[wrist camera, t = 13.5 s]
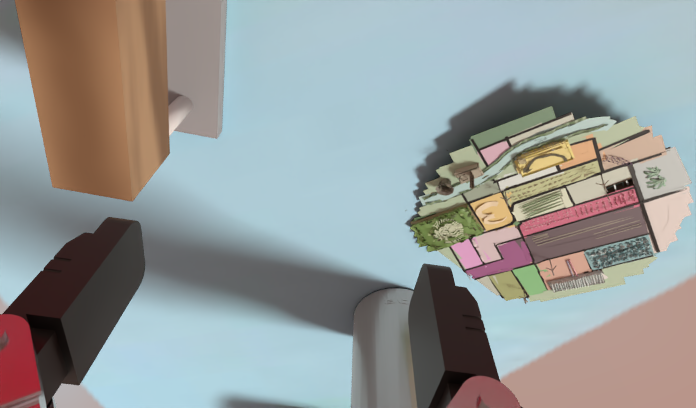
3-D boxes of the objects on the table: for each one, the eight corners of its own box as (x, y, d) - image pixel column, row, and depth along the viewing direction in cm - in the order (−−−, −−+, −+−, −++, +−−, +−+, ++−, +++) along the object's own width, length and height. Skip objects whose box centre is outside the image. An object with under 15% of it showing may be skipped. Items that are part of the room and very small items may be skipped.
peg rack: (222, 131, 38) (194, 175, 32) (126, 113, 38) (79, 154, 31) (230, -89, 29) (194, -86, 23) (105, -117, 29) (33, -123, 23)
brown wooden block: (163, -59, 24) (111, -49, 19) (169, 153, 31) (132, 201, 26) (77, -79, 24) (-1, -73, 19) (103, 141, 31) (52, 187, 26)
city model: (353, 208, 45) (348, 252, 41) (549, 21, 32) (575, 54, 27) (520, 312, 53) (531, 358, 49) (730, 197, 40) (773, 245, 36)
